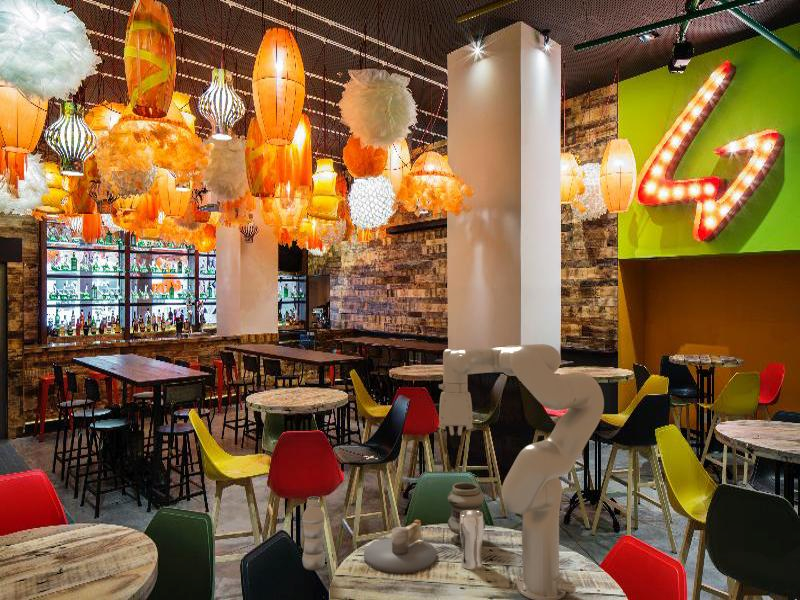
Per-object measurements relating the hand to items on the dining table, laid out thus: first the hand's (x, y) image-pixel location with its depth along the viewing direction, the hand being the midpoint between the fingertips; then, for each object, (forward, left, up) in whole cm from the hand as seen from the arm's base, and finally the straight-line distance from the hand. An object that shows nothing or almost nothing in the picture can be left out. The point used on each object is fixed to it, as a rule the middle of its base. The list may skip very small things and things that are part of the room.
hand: (455, 447), depth 175 cm
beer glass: (-8, +6, -32) cm, 34 cm away
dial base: (+13, +12, -32) cm, 37 cm away
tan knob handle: (+13, +8, -30) cm, 34 cm away
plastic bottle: (+30, +32, -32) cm, 54 cm away
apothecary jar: (+1, -9, -32) cm, 34 cm away
